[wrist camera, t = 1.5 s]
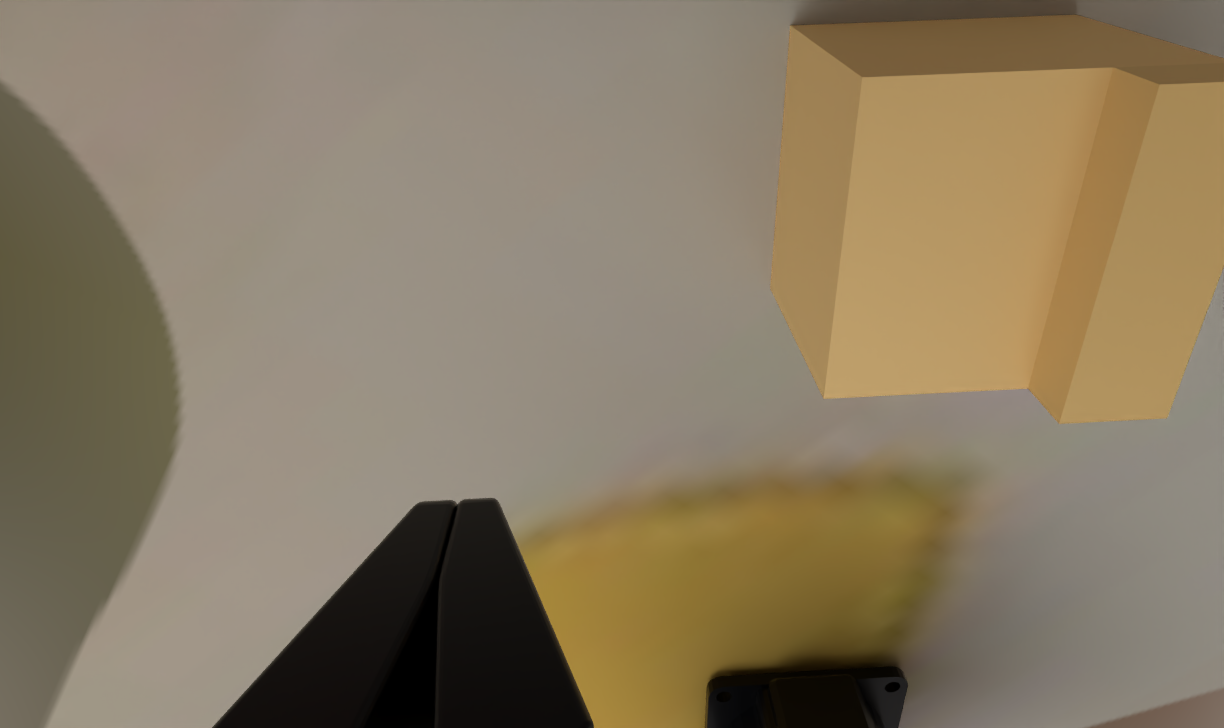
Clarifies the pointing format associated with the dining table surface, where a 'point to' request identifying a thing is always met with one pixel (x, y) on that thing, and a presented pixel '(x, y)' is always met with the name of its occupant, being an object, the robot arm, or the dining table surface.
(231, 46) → the dining table surface
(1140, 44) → the stepped block
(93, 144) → the dining table surface
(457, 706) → the robot arm
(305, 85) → the dining table surface
